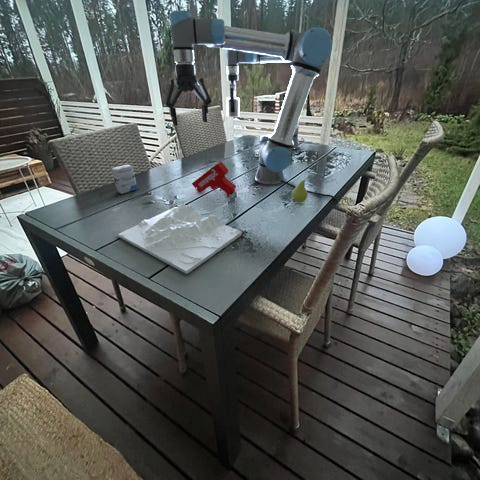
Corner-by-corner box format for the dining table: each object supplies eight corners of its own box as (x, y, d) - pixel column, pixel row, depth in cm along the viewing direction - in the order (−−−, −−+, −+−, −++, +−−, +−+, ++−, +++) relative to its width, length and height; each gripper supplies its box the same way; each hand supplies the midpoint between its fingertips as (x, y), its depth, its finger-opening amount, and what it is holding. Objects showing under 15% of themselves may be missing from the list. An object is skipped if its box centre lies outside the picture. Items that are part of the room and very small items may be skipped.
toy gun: (240, 187, 127) (221, 160, 123) (237, 190, 124) (218, 163, 120) (214, 205, 137) (195, 180, 133) (210, 208, 134) (191, 183, 130)
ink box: (133, 186, 138) (127, 163, 132) (137, 189, 135) (132, 165, 129) (116, 191, 133) (110, 167, 127) (121, 194, 130) (114, 170, 124)
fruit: (288, 200, 123) (290, 174, 116) (302, 197, 125) (305, 172, 119) (296, 206, 118) (299, 179, 111) (310, 203, 120) (314, 177, 114)
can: (240, 116, 190) (240, 98, 184) (227, 116, 190) (226, 99, 184) (239, 114, 198) (239, 97, 192) (226, 114, 197) (226, 97, 191)
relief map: (186, 274, 80) (184, 260, 77) (118, 236, 97) (114, 224, 95) (241, 234, 98) (241, 222, 95) (176, 209, 116) (174, 198, 113)
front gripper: (209, 63, 112) (212, 119, 123) (149, 64, 100) (159, 125, 112) (218, 63, 107) (220, 121, 118) (156, 63, 95) (165, 128, 107)
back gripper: (228, 73, 189) (229, 109, 201) (225, 74, 171) (226, 113, 183) (239, 73, 189) (239, 109, 201) (236, 74, 171) (237, 113, 183)
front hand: (190, 123), depth 115 cm, fingers open, 13 cm apart
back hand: (233, 111), depth 192 cm, fingers closed on can, 9 cm apart
